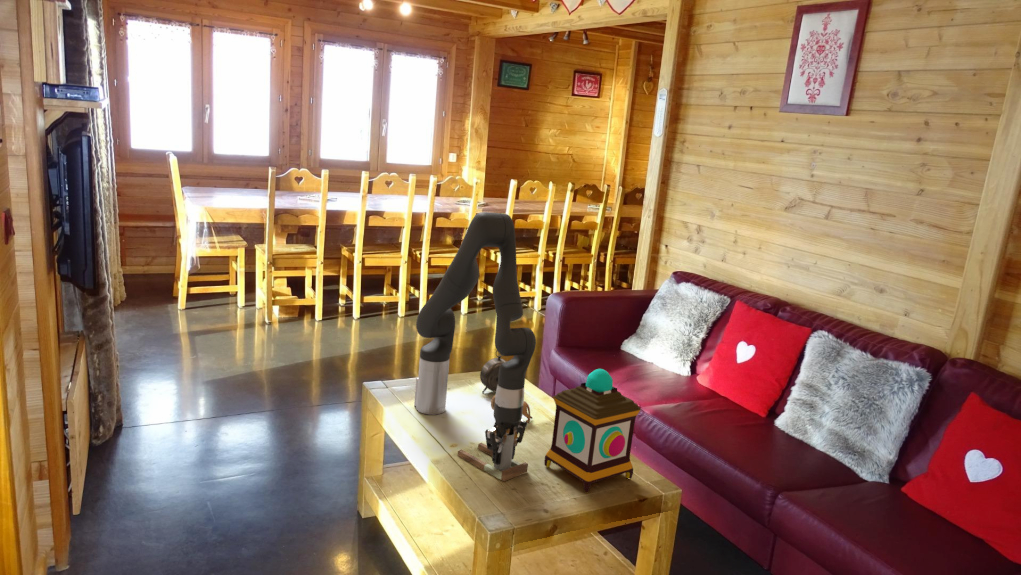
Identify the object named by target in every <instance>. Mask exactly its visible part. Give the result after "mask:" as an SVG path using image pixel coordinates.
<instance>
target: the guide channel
mask: <svg viewBox="0 0 1021 575" xmlns="http://www.w3.org/2000/svg"><path fill="white" fill-rule="evenodd" d="M477 445H478V446H477V449H478V450H480V451H482V452H484V453H485V454H486V455H489V456H491V457H492V455H493V451H491V450H489V449H487V444H485V443H483V442H478V444H477ZM457 456H458V457H460V458H462V459H463V460H464V461H466V462H468V463H470V464H472V465H473V466H476V467H477V468H479V469H480V470H483V471H484V472H486V473H488V474H489V475H491V476H493V477H495V478H497V479H498V480H501V481H502V482H507V481H509V480H512V479H514V478H515V477H518V476H522V475H524V474H526V473H528V467H529V463H528V462H525V461H524V462H522V463H521V462H520V461H517V460H515V459H512V461H511V468H509V469H507V470H504V471H501V470H498V469H496V468H495V467H494V466H492V465H490V464H489V463H487V462H485V461H484V460H481V459H479V458H478V457H476V456H474V455H473V454H471V453H469V452H467V451H464V449H458V450H457Z"/></svg>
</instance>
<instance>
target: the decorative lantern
mask: <svg viewBox="0 0 1021 575" xmlns="http://www.w3.org/2000/svg"><path fill="white" fill-rule="evenodd" d="M613 383H614V382H613V377H612V376H611V375H610V373H609V372H608V371H607V370H605V369H603V368H597V369H594V370H593V371H592V372H590V373H589V374H588V376H586V381H585V382H581V383H580V385H578V386H576V387H573V388H569V389H564V390H562V391H561V392H557V393H556V395H553V397H552V398H553V401H554V403H555V415H554V421H553V432H552V438H551V439H552V441H551V447H550V448H549V449H548V451H547V452H546V454H545V456H544V462H543V463H544V467H546V468H549V467H551V464H552V463H553V464H555V465H556V466H558V467H560V468H561V469H563V470H564V471H565V472H567V473H569V474H570V475H572V476H574V477H575V478H577V479H578V480H580V481H581V482H582V483H583V492H584V493H585V494H588V493H589V491H590V489H591V486H592V485H593V484H594V483H596V482H597V483H598V482H600V481H603V480H606V479H610V478H613V477H616V476H620V475H623V474H625V478H631V479H632V478H633V475H634V468H633V463H632V461H631V457H630V456H631V450H632V443H633V437H634V431H635V424H636V418H637V416H638V415H639V413H640V411H641V410H642V409H641V407H640V406H639V404H637V403H636V402H635V401H634V400H633V399H631V398H629V397H627V396H625V395H624V394H623V395H622V393H621V392H620V391H619V390H618V388H617V387H615V386H613V385H614V384H613Z"/></svg>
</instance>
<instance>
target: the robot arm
mask: <svg viewBox="0 0 1021 575" xmlns="http://www.w3.org/2000/svg"><path fill="white" fill-rule="evenodd" d="M516 243H517V240H516V230H515V224H514V221H513V219H512V217H511V216H510V215H509V214H507V213H502V212H500V213H499V212H489V211H488V212H487V211H482V212H477V213H476V215H474V217H472V219H471V221H470V223H469V226H468V228H467V230H466V233H465V235H464V237H463V239H462V242H461V244H460V246H459V248H458V250H457V252H456V254H455V256H454V257H453V260H452V261H451V262H450V264H449V265H448V268H447V269H446V271H445V273H444V274H443V276H442V279H441V280H440V282H439V284H438V285H437V287H436V288H435V290H434V291H433V293H432V295H431V296H430V297H429V299H428V300H427V301H426V302H425V304H424V305H423V306H422V307H421V309H420V311H419V313H418V315H417V318H416V325H415V326H416V327H415V328H416V331H417V333H418V334H419V335H420V336H421V337H422V338H426V339H432V340H431V341H430V342H428V343H427V344H425V345H423V346H421V348H420V352H419V363H418V376H417V378H416V379H415V388H414V389H415V391H414V402H413V403H414V407H415V406H416V407H415V409H416V411H417V410H418V411H417V412H419V413H421V414H424V415H431V416H432V415H433V416H434V415H440V414H443V413H444V412H446V407H447V406H446V404H447V394H448V392H447V391H448V380H449V369H450V356H451V353H452V351H453V347H454V346H453V344H454V338H455V331H456V317H455V316H456V315H455V313H454V311H453V309H452V308H453V307H455V306H457V305H458V304H460V303H461V302H462V301H464V300H465V299H466V298H467V297H469V295H470V294H471V292H472V291H473V290H474V288H475V286H476V285H477V283H478V281H479V279H480V268H479V265H478V261H477V256H478V255H479V253H480V251H481V250H482V249H483V248H485V247H491V248H498V250H499V254H500V263H499V268H498V270H497V274H496V276H495V279H494V282H493V286H492V297H493V302H494V309H495V314H496V317H495V318H496V320H495V321H496V323H495V333H494V334H495V336H494V346H495V349H496V350H497V352H498V354H500V356H502V357H512V356H513V357H512V358H511V359H509V360H506V362H504V363H502V364H501V365H500V368H499V375H498V385H497V389H496V391H495V395H494V396H495V405H494V410H493V418H494V421H495V422H494V424H493V427H492V428H491V429H488V428H487V429H486V430H485V431H484V433H485V434H484V435H485V442H486V445H487V449H489V450H491V451H493V455H492V456H491V461H492V463H493V465H494V464H496V465H499V464H500V460H501V449H502V446H503V444H505V442H506V438H507V435H511V434H513V433H515V434H514V443H513V452H512V459H513V460H515V459H514V457H515V453H516V447H517V446H518V444H521V443H522V441H523V438H524V435H525V432H526V429H527V425H528V423H527V422H526V420H523V414H522V411H523V402H524V400H525V383H526V376H527V375H526V374H527V371H528V368H529V365H530V362H531V361H532V357H533V356H534V353H535V350H536V346H537V338H536V335H535V333H534V331H533V330H532V329H531V328H529V327H515V328H513V327H511V322H515V321H517V320H519V319H521V318H522V317H523V316H524V309H523V304H522V299H521V293H520V289H519V282H518V272H517V269H518V267H517V244H516ZM497 436H498V437H499V438H501V439H502V440H499V439H498V438H497ZM497 442H498V443H499V445H498V447H497Z"/></svg>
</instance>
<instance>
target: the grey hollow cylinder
mask: <svg viewBox="0 0 1021 575" xmlns="http://www.w3.org/2000/svg"><path fill="white" fill-rule="evenodd" d="M514 434H515V433H513V434H511V435H507V438H506V442H505V444H503V446H502V449H501V460H500V464H499V465H496V464H494V463H493V467H494V468H496V469H498V470H499V471H501V472H502V471H504V470H507V469H509V468H512V467H511V461H512V452H513V443H514ZM497 438H498V439H499V440H502V439H501V438H499V437H498V436H497ZM498 445H499V443H498V442H497V447H498Z"/></svg>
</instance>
